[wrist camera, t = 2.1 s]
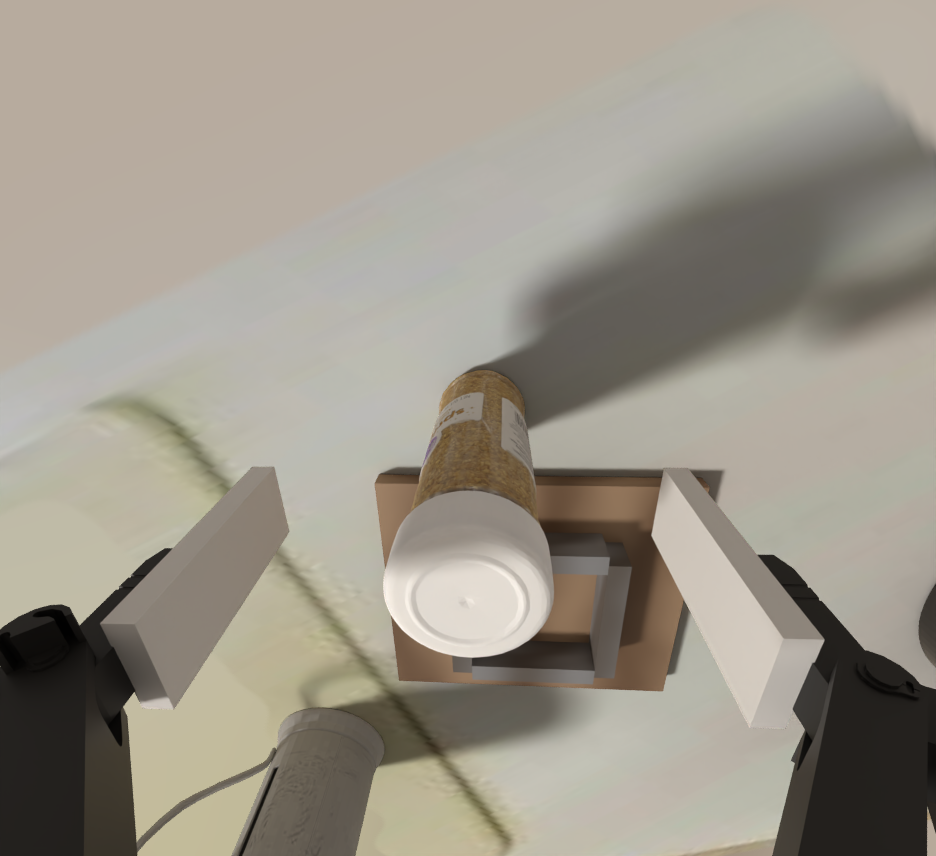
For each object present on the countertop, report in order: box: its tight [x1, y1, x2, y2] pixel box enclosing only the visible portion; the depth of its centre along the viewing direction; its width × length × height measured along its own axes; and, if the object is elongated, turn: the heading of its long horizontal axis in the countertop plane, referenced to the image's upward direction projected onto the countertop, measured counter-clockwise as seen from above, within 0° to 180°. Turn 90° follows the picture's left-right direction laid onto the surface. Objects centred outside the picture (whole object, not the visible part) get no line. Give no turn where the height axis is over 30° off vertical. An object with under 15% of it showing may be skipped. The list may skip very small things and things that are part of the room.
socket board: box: [375, 474, 710, 691], centre depth 27 cm, size 18×16×3 cm
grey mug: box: [137, 708, 385, 856], centre depth 29 cm, size 9×14×15 cm, turn 64°
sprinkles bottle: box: [383, 370, 554, 658], centre depth 18 cm, size 5×5×13 cm
